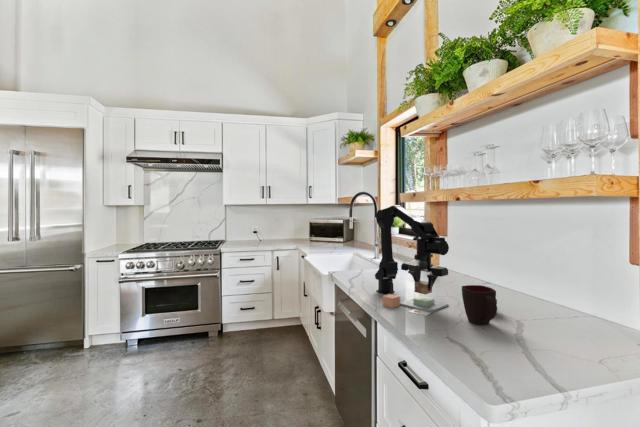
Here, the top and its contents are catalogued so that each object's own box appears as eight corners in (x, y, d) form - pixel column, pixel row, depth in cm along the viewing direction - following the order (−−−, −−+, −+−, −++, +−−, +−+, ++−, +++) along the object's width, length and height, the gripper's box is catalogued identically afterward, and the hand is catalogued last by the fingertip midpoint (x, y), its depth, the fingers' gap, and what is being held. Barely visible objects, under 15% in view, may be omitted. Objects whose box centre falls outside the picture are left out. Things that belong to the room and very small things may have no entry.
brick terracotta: (382, 305, 134) (382, 295, 134) (390, 303, 137) (390, 293, 137) (392, 308, 130) (392, 298, 130) (399, 305, 133) (399, 296, 133)
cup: (483, 317, 118) (483, 284, 118) (508, 331, 105) (508, 294, 104) (457, 318, 118) (457, 285, 117) (479, 332, 104) (479, 295, 104)
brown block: (414, 292, 133) (414, 282, 133) (421, 289, 136) (421, 280, 136) (425, 294, 129) (425, 284, 129) (432, 292, 132) (432, 282, 132)
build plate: (399, 304, 134) (399, 298, 134) (418, 298, 143) (418, 292, 143) (429, 313, 123) (429, 306, 123) (448, 305, 132) (448, 299, 132)
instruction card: (408, 312, 124) (408, 311, 124) (414, 309, 128) (414, 308, 128) (426, 316, 120) (426, 314, 120) (431, 312, 124) (431, 311, 124)
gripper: (393, 251, 135) (393, 288, 135) (433, 256, 120) (433, 298, 121) (408, 249, 142) (408, 284, 142) (449, 253, 127) (448, 292, 128)
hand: (423, 289), depth 133 cm, fingers closed on brown block, 5 cm apart
